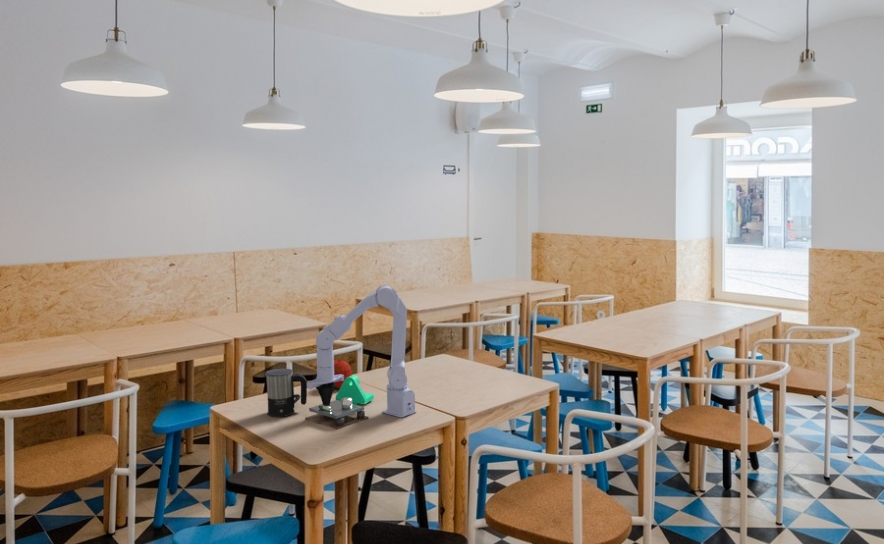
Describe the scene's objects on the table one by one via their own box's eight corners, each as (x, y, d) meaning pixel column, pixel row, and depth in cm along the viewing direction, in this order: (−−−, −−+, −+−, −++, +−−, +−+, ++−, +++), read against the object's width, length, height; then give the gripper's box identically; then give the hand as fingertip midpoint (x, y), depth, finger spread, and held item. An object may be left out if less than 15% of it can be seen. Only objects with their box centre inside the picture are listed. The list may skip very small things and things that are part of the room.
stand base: (369, 418, 223) (368, 410, 223) (337, 429, 213) (336, 421, 212) (337, 409, 234) (336, 401, 234) (305, 419, 223) (304, 411, 223)
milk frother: (271, 419, 224) (270, 376, 222) (257, 407, 237) (255, 366, 236) (311, 411, 232) (310, 370, 230) (295, 400, 245) (294, 361, 243)
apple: (325, 385, 266) (324, 356, 264) (350, 383, 268) (350, 355, 267) (326, 392, 256) (326, 362, 255) (353, 390, 258) (352, 360, 257)
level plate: (364, 409, 223) (363, 398, 223) (336, 418, 214) (336, 406, 214) (336, 402, 232) (336, 391, 232) (309, 411, 223) (308, 399, 223)
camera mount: (374, 401, 244) (374, 373, 243) (364, 407, 237) (364, 378, 236) (346, 397, 248) (345, 370, 247) (335, 403, 241) (334, 375, 240)
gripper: (334, 360, 233) (334, 398, 234) (300, 368, 222) (301, 407, 223) (347, 363, 228) (348, 401, 230) (314, 371, 217) (315, 411, 219)
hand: (326, 405), depth 226 cm, fingers closed, pressing on level plate
